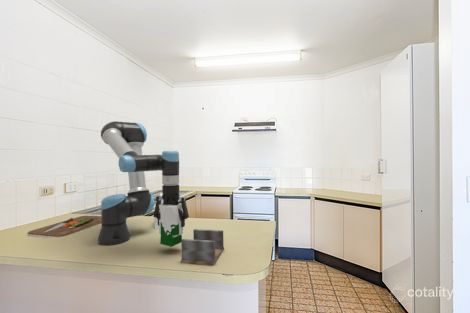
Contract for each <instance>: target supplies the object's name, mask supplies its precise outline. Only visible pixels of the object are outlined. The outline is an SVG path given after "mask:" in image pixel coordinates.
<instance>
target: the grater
mask: <svg viewBox="0 0 470 313" xmlns="http://www.w3.org/2000/svg"><path fill="white" fill-rule="evenodd" d="M162 195H163V193H159V195H158V196H162ZM161 204H163V199H162V200H161ZM159 212H160V210H159ZM153 225H154V226H155V227H154V226H153V227H154V230H159V226H158V219H157V218H156V217H154V223H153Z"/></svg>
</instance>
